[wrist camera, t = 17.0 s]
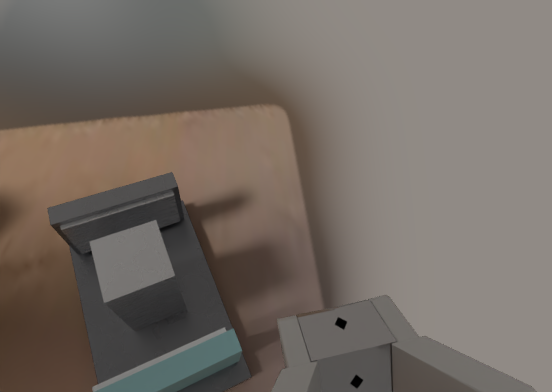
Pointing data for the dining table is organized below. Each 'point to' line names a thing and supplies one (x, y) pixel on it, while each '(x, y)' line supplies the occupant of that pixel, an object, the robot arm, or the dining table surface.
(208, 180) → the dining table surface
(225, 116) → the dining table surface
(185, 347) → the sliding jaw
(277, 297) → the dining table surface
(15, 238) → the dining table surface
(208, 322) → the vise
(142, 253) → the steel block
